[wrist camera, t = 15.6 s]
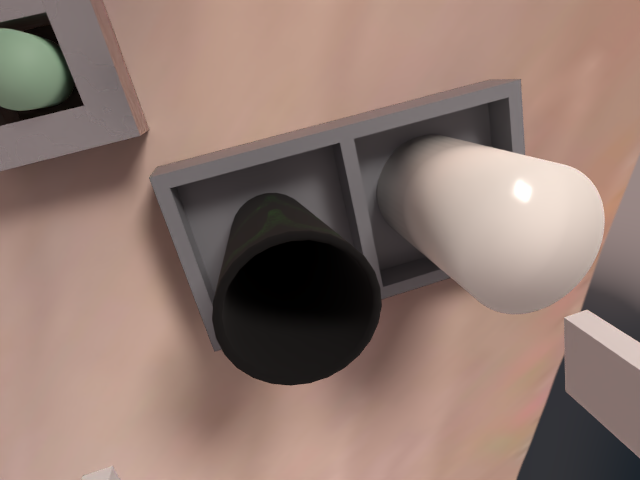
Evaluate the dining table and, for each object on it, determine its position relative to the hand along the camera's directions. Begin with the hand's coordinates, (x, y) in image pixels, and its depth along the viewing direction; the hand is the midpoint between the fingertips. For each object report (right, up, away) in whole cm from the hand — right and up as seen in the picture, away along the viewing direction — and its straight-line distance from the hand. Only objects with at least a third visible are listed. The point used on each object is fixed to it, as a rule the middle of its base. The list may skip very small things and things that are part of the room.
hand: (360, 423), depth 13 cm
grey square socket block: (-17, +15, +14) cm, 27 cm away
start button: (-17, +15, +13) cm, 26 cm away
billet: (+7, +9, +20) cm, 23 cm away
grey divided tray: (+1, +8, +20) cm, 22 cm away
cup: (-5, +6, +19) cm, 20 cm away
